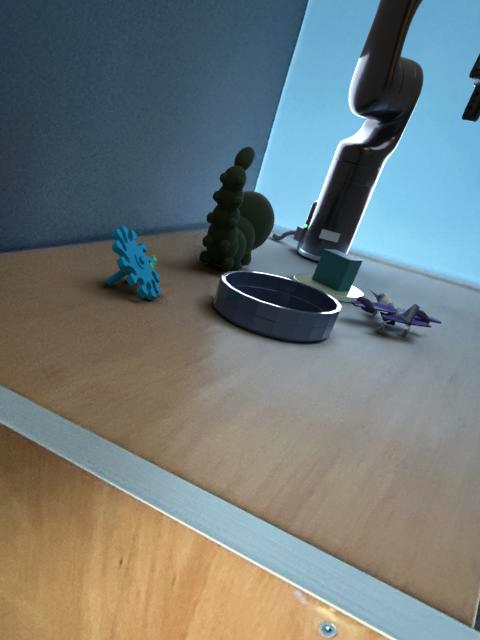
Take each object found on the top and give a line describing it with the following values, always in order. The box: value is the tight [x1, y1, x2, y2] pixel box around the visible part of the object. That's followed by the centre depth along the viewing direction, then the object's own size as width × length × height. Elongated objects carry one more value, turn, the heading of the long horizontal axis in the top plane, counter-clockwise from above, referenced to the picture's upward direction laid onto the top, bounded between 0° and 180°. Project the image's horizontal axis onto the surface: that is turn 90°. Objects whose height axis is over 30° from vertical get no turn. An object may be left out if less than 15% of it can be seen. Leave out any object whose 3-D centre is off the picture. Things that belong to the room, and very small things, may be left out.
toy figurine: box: [198, 146, 275, 272], centre depth 94 cm, size 9×19×25 cm
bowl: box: [213, 270, 343, 343], centre depth 77 cm, size 16×16×4 cm
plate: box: [292, 272, 365, 303], centre depth 98 cm, size 12×12×1 cm
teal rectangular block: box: [312, 249, 363, 292], centre depth 96 cm, size 6×3×5 cm, turn 30°
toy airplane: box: [350, 289, 442, 338], centre depth 85 cm, size 13×14×4 cm
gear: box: [105, 224, 162, 301], centre depth 76 cm, size 11×6×10 cm
